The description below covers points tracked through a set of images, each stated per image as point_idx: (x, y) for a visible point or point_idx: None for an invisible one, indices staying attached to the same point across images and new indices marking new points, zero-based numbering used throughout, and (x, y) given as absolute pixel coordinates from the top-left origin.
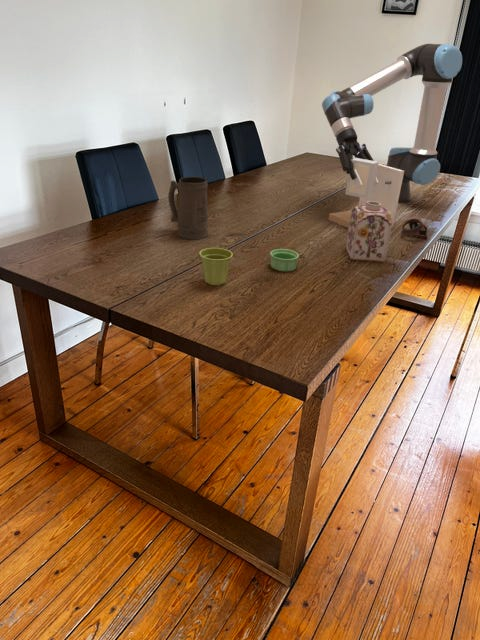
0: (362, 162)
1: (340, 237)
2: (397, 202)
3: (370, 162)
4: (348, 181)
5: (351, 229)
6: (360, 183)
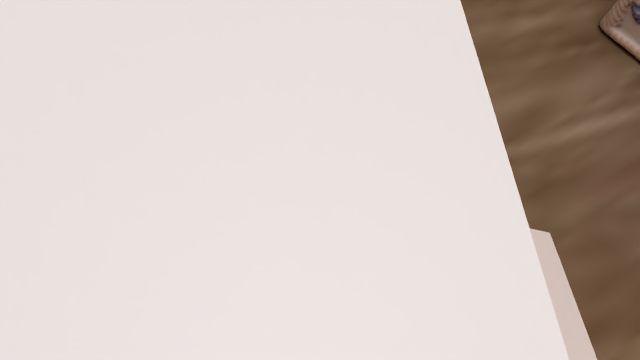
0: (554, 351)
1: (635, 292)
2: None
3: (330, 34)
4: None
5: None
6: (552, 250)
